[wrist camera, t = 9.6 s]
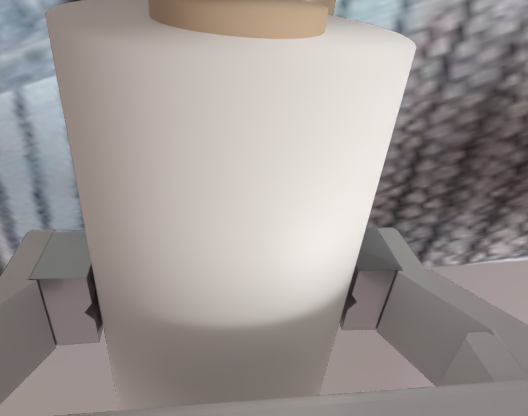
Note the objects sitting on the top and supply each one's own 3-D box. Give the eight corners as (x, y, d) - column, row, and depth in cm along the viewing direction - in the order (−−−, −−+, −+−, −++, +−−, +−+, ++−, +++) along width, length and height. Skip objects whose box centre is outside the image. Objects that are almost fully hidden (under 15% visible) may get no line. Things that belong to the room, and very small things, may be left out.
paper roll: (187, -23, 9) (-66, -21, 5) (435, 11, 7) (391, 59, 3) (191, 315, 14) (80, 451, 10) (329, 375, 13) (264, 563, 9)
